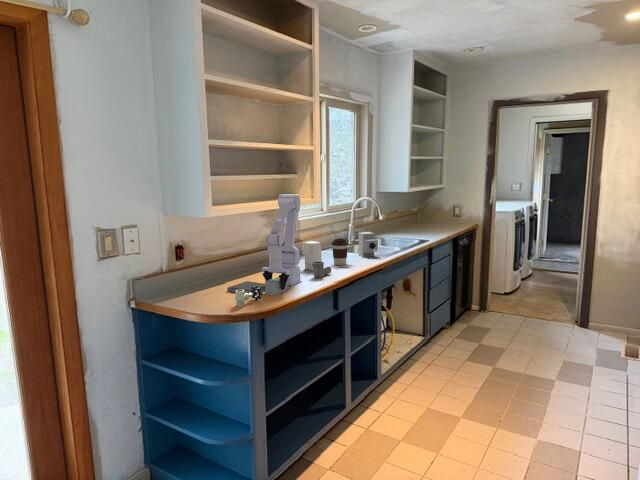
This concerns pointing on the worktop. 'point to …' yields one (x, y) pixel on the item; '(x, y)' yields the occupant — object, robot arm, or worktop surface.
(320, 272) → the pipe
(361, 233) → the circuit breaker
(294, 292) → the worktop surface
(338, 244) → the coffee cup
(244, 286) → the shallow gray tray
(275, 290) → the block
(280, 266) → the robot arm
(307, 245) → the skincare box
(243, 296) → the valve
